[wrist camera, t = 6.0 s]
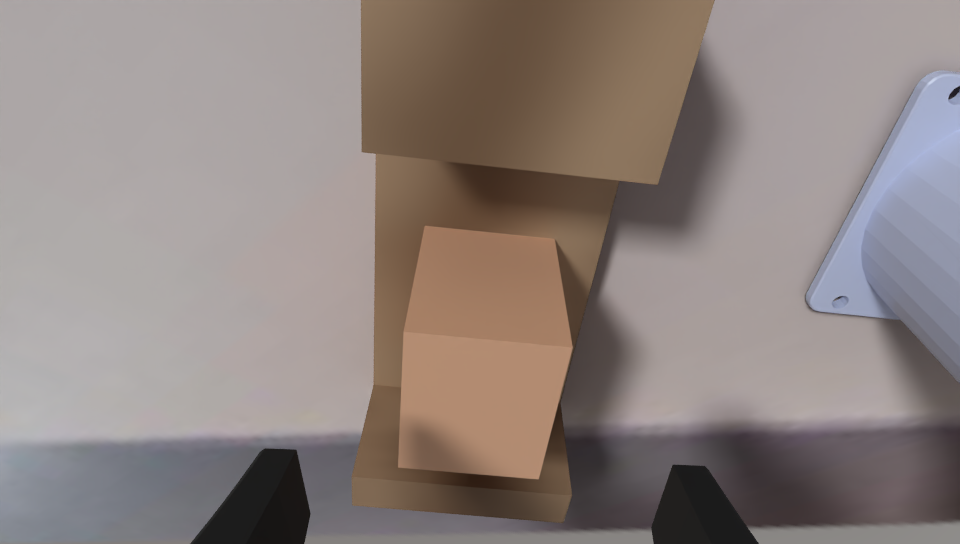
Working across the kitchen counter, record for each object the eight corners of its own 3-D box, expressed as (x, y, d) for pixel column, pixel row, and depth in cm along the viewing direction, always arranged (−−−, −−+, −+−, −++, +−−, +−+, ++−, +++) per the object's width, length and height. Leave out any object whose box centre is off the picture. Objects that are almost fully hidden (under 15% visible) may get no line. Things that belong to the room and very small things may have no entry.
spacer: (554, 238, 18) (572, 347, 14) (529, 358, 21) (538, 479, 17) (424, 225, 18) (403, 331, 14) (417, 348, 21) (397, 467, 16)
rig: (762, -414, 11) (936, -604, 7) (551, 409, 24) (563, 528, 19) (390, -474, 11) (320, -710, 6) (377, 393, 23) (351, 510, 19)
